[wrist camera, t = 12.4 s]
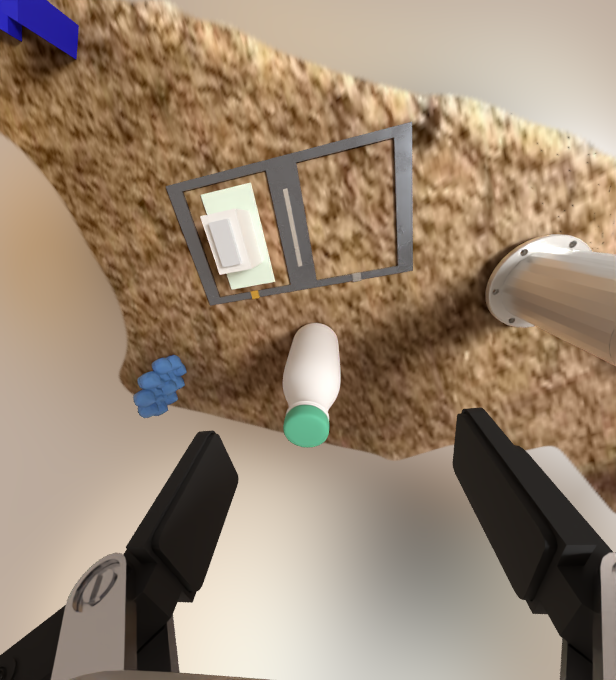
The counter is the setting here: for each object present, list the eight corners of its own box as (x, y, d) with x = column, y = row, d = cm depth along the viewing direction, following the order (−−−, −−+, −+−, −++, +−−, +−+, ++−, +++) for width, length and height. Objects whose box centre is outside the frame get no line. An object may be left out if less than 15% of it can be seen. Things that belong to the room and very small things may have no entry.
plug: (249, 210, 33) (233, 208, 28) (262, 262, 36) (250, 269, 31) (217, 217, 34) (196, 216, 28) (233, 267, 37) (216, 275, 31)
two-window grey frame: (411, 122, 28) (412, 121, 28) (412, 270, 35) (413, 271, 35) (166, 186, 33) (164, 186, 32) (211, 305, 40) (210, 306, 40)
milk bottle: (285, 331, 41) (252, 416, 23) (327, 314, 39) (326, 392, 21) (305, 367, 44) (288, 466, 26) (345, 352, 42) (356, 449, 24)
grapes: (160, 334, 43) (104, 370, 32) (197, 344, 44) (154, 384, 33) (159, 383, 48) (110, 429, 38) (192, 393, 49) (153, 441, 38)
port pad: (250, 182, 32) (250, 182, 32) (275, 281, 37) (274, 281, 37) (201, 195, 33) (200, 195, 33) (232, 289, 38) (231, 289, 38)
